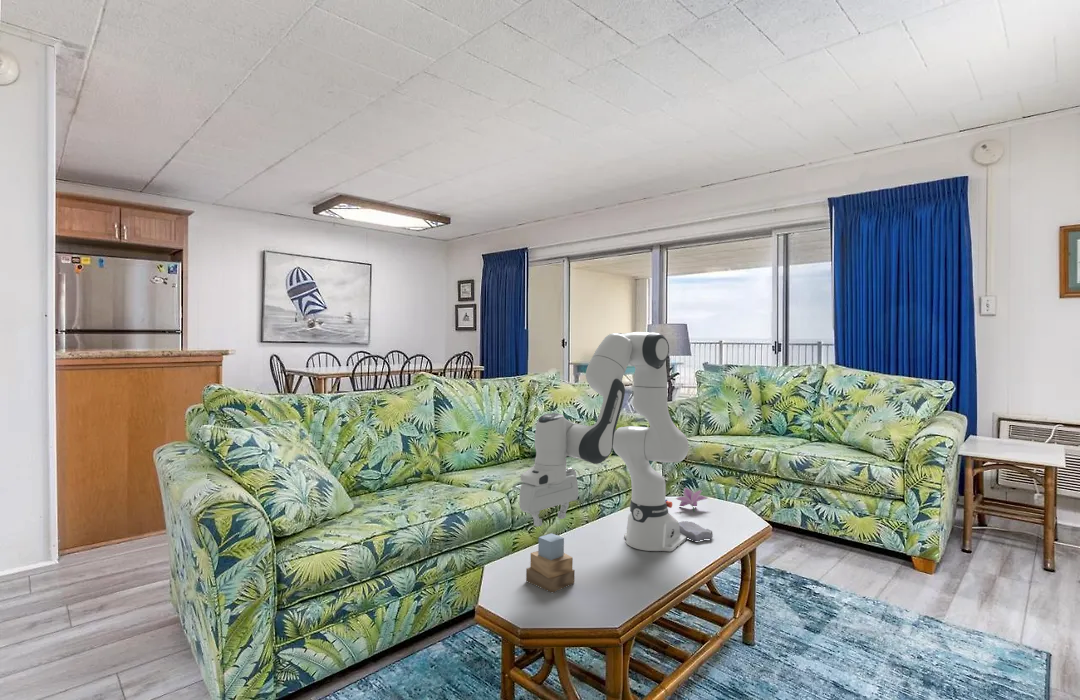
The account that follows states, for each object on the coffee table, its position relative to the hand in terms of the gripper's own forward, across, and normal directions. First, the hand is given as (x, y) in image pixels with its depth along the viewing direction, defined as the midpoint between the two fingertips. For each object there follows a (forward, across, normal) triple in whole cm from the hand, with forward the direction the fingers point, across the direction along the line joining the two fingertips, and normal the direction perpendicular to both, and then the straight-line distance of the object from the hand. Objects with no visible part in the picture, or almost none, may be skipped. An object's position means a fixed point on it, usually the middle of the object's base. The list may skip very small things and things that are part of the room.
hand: (550, 521), depth 157 cm
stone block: (+18, -65, +8) cm, 68 cm away
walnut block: (+17, 0, 0) cm, 17 cm away
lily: (+18, -91, -10) cm, 93 cm away
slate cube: (+9, 0, +1) cm, 9 cm away
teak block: (+13, 0, +1) cm, 13 cm away
